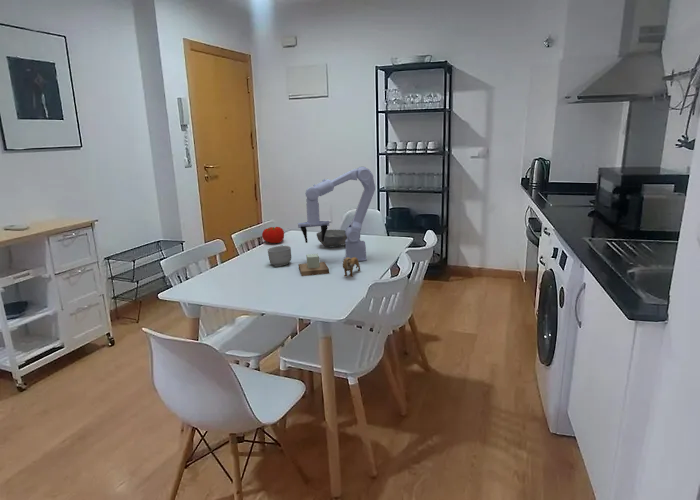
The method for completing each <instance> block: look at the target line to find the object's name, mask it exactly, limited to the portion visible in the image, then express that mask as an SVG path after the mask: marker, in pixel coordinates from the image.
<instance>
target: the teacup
mask: <svg viewBox="0 0 700 500" xmlns="http://www.w3.org/2000/svg"><path fill="white" fill-rule="evenodd" d="M267 255H268V259H269V263H271V264H272V265H273V266H274V267H275V266H276V267H281V266H282V267H283V266H286V265H288V264H289V263H290V262H291V260H292V247H291V246H290V245H283V244H280V245H275V246H272V247H269V248H268V249H267Z"/></svg>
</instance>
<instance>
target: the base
mask: <svg viewBox="0 0 700 500" xmlns="http://www.w3.org/2000/svg"><path fill="white" fill-rule="evenodd" d="M319 263H320V267H319V268H308V266H307V262H306V263H299V264H298V271H299V272H300V275H301V277H306V276H317V275H327V274H330V269H329V267H328V265H327V264H326V262H325V261H319Z"/></svg>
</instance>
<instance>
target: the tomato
mask: <svg viewBox="0 0 700 500" xmlns="http://www.w3.org/2000/svg"><path fill="white" fill-rule="evenodd" d="M261 237H262V239H263V241H264V242H266V243H271V244H280V243H281V242H282V241H284V239H285V231H284V229H283V228H281V227H280V226H271V227H270V226H269V227H268V228H265V229H264V230H263V231H262V234H261Z"/></svg>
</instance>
